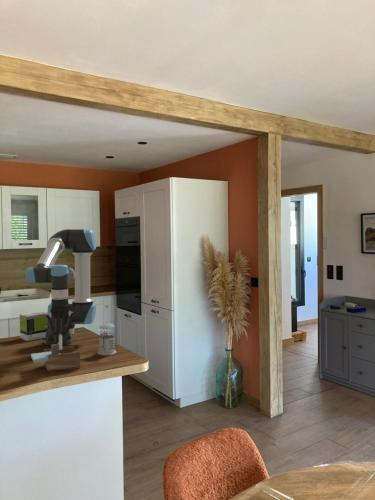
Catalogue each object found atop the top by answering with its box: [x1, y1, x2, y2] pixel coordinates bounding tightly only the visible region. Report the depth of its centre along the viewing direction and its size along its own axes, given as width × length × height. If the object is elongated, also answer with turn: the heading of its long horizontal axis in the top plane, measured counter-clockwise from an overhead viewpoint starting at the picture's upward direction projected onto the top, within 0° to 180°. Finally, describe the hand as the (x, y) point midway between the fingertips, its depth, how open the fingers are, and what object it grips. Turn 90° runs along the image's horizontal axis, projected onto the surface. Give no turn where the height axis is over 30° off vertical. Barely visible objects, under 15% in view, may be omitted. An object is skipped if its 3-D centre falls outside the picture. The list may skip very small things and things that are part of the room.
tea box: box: [19, 310, 48, 342], centre depth 247 cm, size 15×10×15 cm
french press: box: [97, 304, 117, 356], centre depth 215 cm, size 10×12×25 cm
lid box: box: [43, 345, 81, 373], centre depth 192 cm, size 12×14×8 cm
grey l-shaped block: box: [30, 344, 60, 364], centre depth 188 cm, size 10×12×6 cm
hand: (60, 348), depth 191 cm, fingers closed
